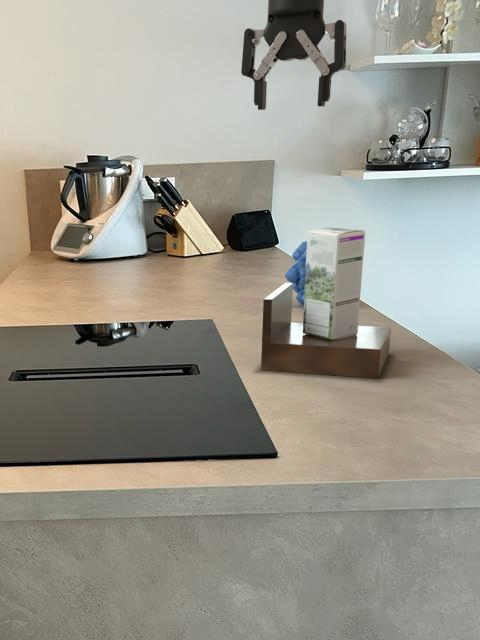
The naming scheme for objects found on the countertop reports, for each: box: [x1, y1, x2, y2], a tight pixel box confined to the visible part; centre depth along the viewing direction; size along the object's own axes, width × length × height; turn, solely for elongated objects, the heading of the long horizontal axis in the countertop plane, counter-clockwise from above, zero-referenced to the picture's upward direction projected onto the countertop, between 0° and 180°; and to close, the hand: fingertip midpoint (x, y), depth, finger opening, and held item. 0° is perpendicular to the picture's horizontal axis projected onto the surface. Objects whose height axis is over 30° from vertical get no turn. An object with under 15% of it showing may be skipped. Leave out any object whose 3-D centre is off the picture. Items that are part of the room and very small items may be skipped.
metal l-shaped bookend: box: [260, 282, 392, 379], centre depth 112 cm, size 16×14×10 cm
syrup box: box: [302, 227, 366, 340], centre depth 110 cm, size 6×6×14 cm
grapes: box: [284, 240, 307, 307], centre depth 151 cm, size 12×7×12 cm, turn 9°
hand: (290, 108), depth 113 cm, fingers open, 8 cm apart
